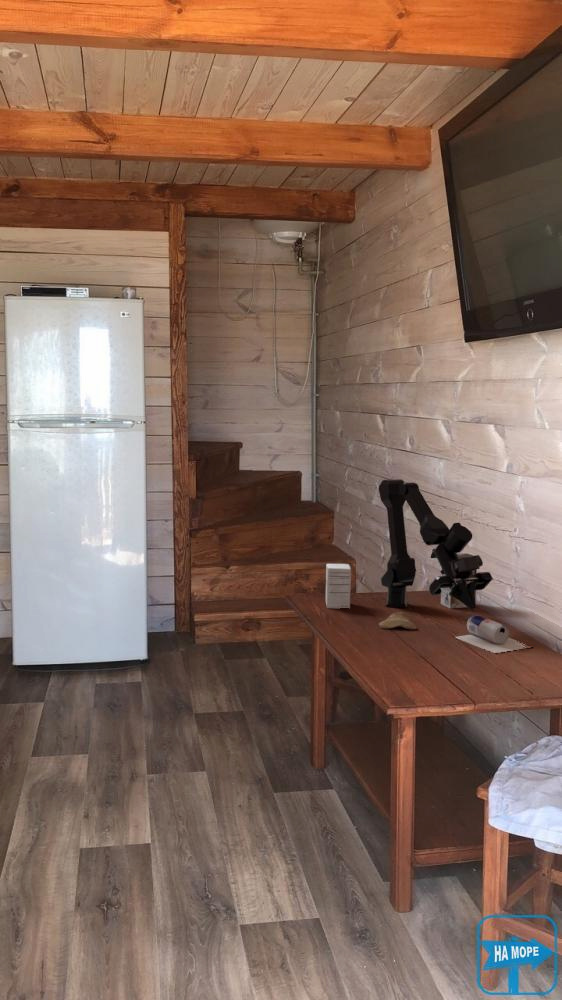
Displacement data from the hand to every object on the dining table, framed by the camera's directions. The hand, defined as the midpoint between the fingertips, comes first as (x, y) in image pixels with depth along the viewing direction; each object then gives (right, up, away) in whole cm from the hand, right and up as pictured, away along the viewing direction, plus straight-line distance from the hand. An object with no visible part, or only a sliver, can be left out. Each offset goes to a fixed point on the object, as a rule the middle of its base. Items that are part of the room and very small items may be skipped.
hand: (474, 608), depth 239 cm
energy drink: (0, -4, +1) cm, 4 cm away
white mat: (+4, -8, -7) cm, 11 cm away
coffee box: (+2, -3, +34) cm, 34 cm away
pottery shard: (-20, -6, +9) cm, 23 cm away
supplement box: (-36, -3, +31) cm, 47 cm away
